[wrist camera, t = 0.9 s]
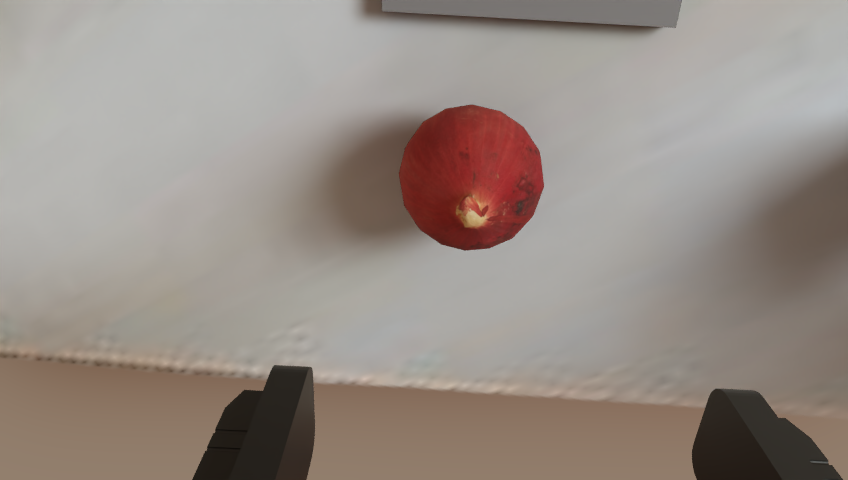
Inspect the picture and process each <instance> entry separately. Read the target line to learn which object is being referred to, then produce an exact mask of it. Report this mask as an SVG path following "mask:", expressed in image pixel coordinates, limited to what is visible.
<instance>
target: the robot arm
mask: <svg viewBox="0 0 848 480" xmlns="http://www.w3.org/2000/svg"><path fill="white" fill-rule="evenodd" d="M314 418H315V415H314V391H313V371H312V368H311V367H300V366H280V365H274V366H273V368H272V370H271V372H270V375H269V377H268V380H267V382H266V385H265V387H264V390H263V391H251V390H244V391H243V392H242V393H241V394H240V395H238V397H236V398H235V399H234V400H233V401H232V402H231V403H230V404H229V405H228V406H227V407H226V408H225V410H224V412H223V414H222V416H221V418H220V420H219V422H218V425H217V427H216V430H215V431H216V432H215V433H214V434H213V436H212V438H211V440H210V442H209V444H208V447H207V451H205V453H204V455H203V457H202V460H201V462H200V464H199V466H198V469H197V471H196V473H195V475H194V477H193V479H192V480H306V479H307V475H308V470H309V467H310V462H311V458H312V452H313V446H314V436H315V419H314ZM692 463H693V468H694V473H695V476H696V478H697V480H843V479H842V478H841V477H840V475H839V474H838V472H836V470H835V469H834V467H833V466H832V465H829V464H828V460H827V458H826V457H825V456H824V454H823V453H822V452H821V451H820V449H819V448H818V447H817V445H816V444H815V443H814V442H813V440H812V439H811V438H810V437H809V436H807V435H806V434H805V433H804V432H802V431H801V430H800V429H798V428H797V427H796V426H795V425H793V424H792V423H791V422H789V421H788V420H787V419H786V418H778V417H777V415H776V414H775V413H774V411H773V410H772V409H771V407H770V406H769V405H768V403H767V402H766V401H765V399H764V398H763V397H762V395H761V394H760V393H758V392H757V391H753V390H735V389H715V390H713V391H712V392H711V394H710V396H709V398H708V402H707V405H706V408H705V411H704V414H703V417H702V420H701V423H700V426H699V429H698V432H697V435H696V438H695V441H694V445H693V449H692Z"/></svg>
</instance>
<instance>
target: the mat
mask: <svg viewBox="0 0 848 480" xmlns="http://www.w3.org/2000/svg"><path fill="white" fill-rule="evenodd" d="M681 2H682V0H382V11H387V12H405V13H422V14H440V15H458V16H476V17H494V18H512V19H529V20H547V21H565V22H583V23H601V24H618V25H636V26H654V27H672V28H676V25H677V20H678V16H679V11H680V7H681Z"/></svg>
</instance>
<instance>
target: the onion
mask: <svg viewBox="0 0 848 480" xmlns="http://www.w3.org/2000/svg"><path fill="white" fill-rule="evenodd" d="M399 177H400V183H401V189H402V195H403V201H404V206H405V207H406V209H407V210H408V212H409V214H410V215H411V217H412V218H413V220H414V221H415V223H416V224H417V226H418V227H419V228H420V230H421V231H423V232H424V233H426V234H427V235H429V236H430V237H431V238H433V239H434V240H436V241H437V242H439V243H440V244H442V245H446V246H450V247H454V248H457V249H461V250H476V249H487V248H491V247H493V246H496V245H498V244H500V243H503V242H505V241H507V240H510V239H512V238H513V237H514V236H515V235H516V234H517V233H518V232H519V231H520V230H521V228H522V227H523V226H524V225H525V224H526V223H527V222H528V221H529V220H530V219H531V218H532V216H533V215H534V212H535V209H536V207H537V204H538V201H539V199H540V196H541V193H542V191H543V188H544V182H543V174H542V165H541V157H540V152H539V150H538V148H537V147H536V145H535V144H534V142H533V141H532V139H531V138H530V136H529V135H528V133H527V131H526V130H525V128H524V127H523V126H521V125H520V124H518V123H517V122H515V121H514V120H513V119H511V118H510V117H508V116H507V115H505V114H504V113H502V112H501V111H497V110H492V109H488V108H484V107H480V106H476V105H466V106H460V107H454V108H448V109H445V110H443V111H441V112H440V113H438V114H436V115H434V116H433V117H431V118H429V119H428V120H426V121H424V122H423V123H422V124H421V126H420V127H419V129H418V130H417V131H416V133H415V134H414V135H413V137H412V138H411V140H410V141H409V142H408V144H407V146H406V148H405V151H404V155H403V159H402V163H401V167H400V172H399Z"/></svg>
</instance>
